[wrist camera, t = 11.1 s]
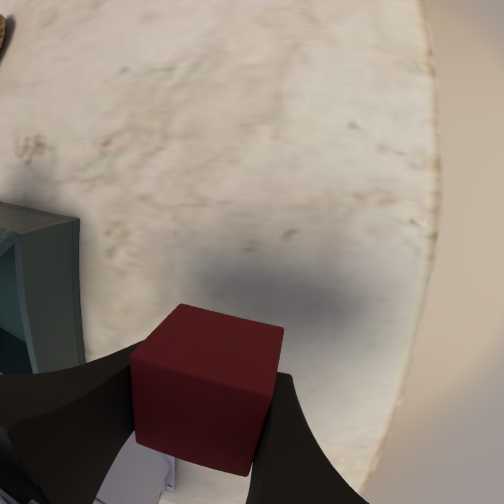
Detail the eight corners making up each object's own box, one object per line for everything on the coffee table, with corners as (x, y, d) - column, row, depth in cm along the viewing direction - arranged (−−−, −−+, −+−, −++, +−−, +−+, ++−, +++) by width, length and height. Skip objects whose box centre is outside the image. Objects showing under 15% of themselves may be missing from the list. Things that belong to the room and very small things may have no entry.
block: (264, 406, 12) (247, 478, 8) (174, 382, 13) (134, 443, 9) (285, 326, 11) (273, 395, 7) (180, 302, 12) (128, 354, 8)
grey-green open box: (87, 373, 24) (49, 410, 18) (2, 328, 25) (-35, 350, 20) (79, 218, 20) (21, 234, 15) (-10, 200, 22) (-57, 209, 16)
